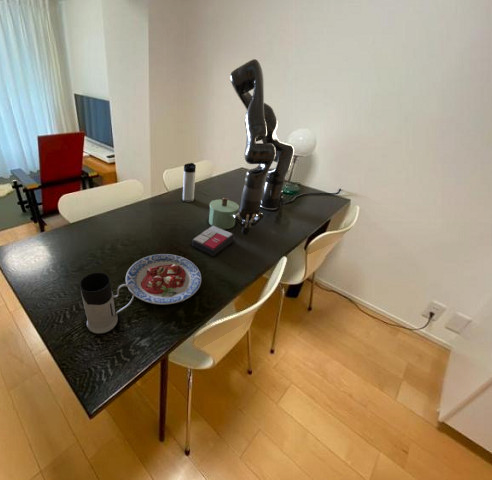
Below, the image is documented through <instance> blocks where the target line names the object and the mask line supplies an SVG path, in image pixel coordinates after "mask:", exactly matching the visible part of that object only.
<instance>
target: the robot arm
mask: <svg viewBox="0 0 492 480" xmlns="http://www.w3.org/2000/svg"><path fill="white" fill-rule="evenodd" d="M229 78H230V83H231V85H232V88H233V90H234V92H235V93H236V95H237V96H238V98H239V100H240V102H241V103H242V104H243V106H244V108H245V110H246V112H245V116H244V126H245V133H246V141H245V148H244V153H243V155H244V156H243V157H244V160H245V162H246V163H247V164H249V165H257V166H256V167H254V168H250V169H248V170H247V171H246V173H245V178H244V185H243V189H242V193H241V199H240V205H239V209H238V212H237V214H236V215H235V214H234V215H233V217H234V218H235V220H236V223H237V224H238V225H239V227H240V228H241V234H242V235H243V236H248V235H249V233H250V230H251V227H255V226H256V225H257V224H258V223H259V222H260V221H261V220H262V219H263V218H264V217H265V216H264V215H263V213H262V212H261V211H260V209H264V210H266V211H276V210H279V209H280V206H281V204H282V205H283V204H289V203H291V202H293V201H295V199H297V198H299V197H301V196H305V195H306V196H307V195H333V196H334V195H338V194H339V193H340V192H341V191H342V188H339V190H338V191H337V192H306V193H305V192H303V193H300V194H297V195H296V196H294V197H293V198H292V199H291V200H288V201H286V202H285V199H284V197H283V196H284V191H283V189H284V185H285V181H286V177H287V174H288V172H289V170H290V167H291V164H292V161H293V157H294V153H295V149H294V146H293V145H292V144H288V143H285V142H281V141H280V140H279V139H278V137H277V134H276V131H277V129H278V119H277V115H276V114H275V111H274V109H273V107H272V106H271V105H269V104H267V103H266V102H265V83H264V82H265V81H264V80H265V79H264V72H263V68H262V66H261V63H260V61H259V60H258V59H255V58H254V59H251V60H249V61H247V62H245V63H243V64H241V65H240V66H238V67H236V68H235V69H234V70H232V71H231V73H230V76H229ZM252 90H253V91H252ZM250 91H252V92H253V93H252V94H251V93H250ZM259 141H261V143H259ZM257 142H258V143H257ZM273 163H276V166H275V167H271V166H272V165H273ZM240 219H241V220H242V222H241V220H240Z"/></svg>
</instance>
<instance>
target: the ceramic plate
mask: <svg viewBox="0 0 492 480" xmlns="http://www.w3.org/2000/svg"><path fill="white" fill-rule="evenodd" d="M125 284H128V285H131V286H132V287H133V288H134V297H135V298H137V299H139V300H141V301H143V302H145V303H148V304H153V305H161V306H163V305H165V306H166V305H172V304H173V305H174V304H178V303H182V302H184V301H186V300H187V299H190V298H191V297H192V296H194V295H195V294H196V293H197V292H198V290H199V289H200V287H201V284H202V274H201V271H200V269H199V268H198V267H197V265H196V264H195V263H194V262H192V261H191V260H189V259H188V258H185V257H183V256H180V255H177V254H170V253H159V254H158V253H157V254H152V255H148V256H145V257H142V258H140V259H139V260H137V261H135V262H134V263H133V264H132V265H131V266H130V267H129V268H128V269H127V272H126V275H125ZM127 289H128V291H129V292H130V294H132V295H133V291H132V289H131V288H130V287H127Z"/></svg>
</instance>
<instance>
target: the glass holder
mask: <svg viewBox="0 0 492 480" xmlns="http://www.w3.org/2000/svg"><path fill="white" fill-rule="evenodd" d="M123 287H127V288H128V287H130V288H131V289H132V291H133V294H132V296H131V299H130V301H129V302H128V303H127V304H126V305H125V306H123V307H122V308H120V309H119V310H117V311H116V308H115V301H114V299H116V298H119V296H120V289H121V288H123ZM79 288H80V295H81V298H82V303H83V308H84V311H85V316H86V327H87V329H88V330H89V331H90V332H92V333H94V334H105V333H108V332H110V331H111V330H113V329H114V328H115V327H116V326H117V324H118V321H119V317H118V314H119V313H121V312H122V311H124V310H125V309H127V308H128V307H129V306H131V305H132V303H133V301H134V299H135V296H134V288H133V287H132V286H131V285H128V284H126V283H122V284H121V285H119V286H118V288H117V291H116V294H115V295H114V293H113V291H112V283H111V278H110V276H109V275H108V274H106V273H105V272H98V271H97V272H92V273H89V274H87V275H85V276H84V277H83V278H82V279H81V280H80V282H79Z"/></svg>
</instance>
